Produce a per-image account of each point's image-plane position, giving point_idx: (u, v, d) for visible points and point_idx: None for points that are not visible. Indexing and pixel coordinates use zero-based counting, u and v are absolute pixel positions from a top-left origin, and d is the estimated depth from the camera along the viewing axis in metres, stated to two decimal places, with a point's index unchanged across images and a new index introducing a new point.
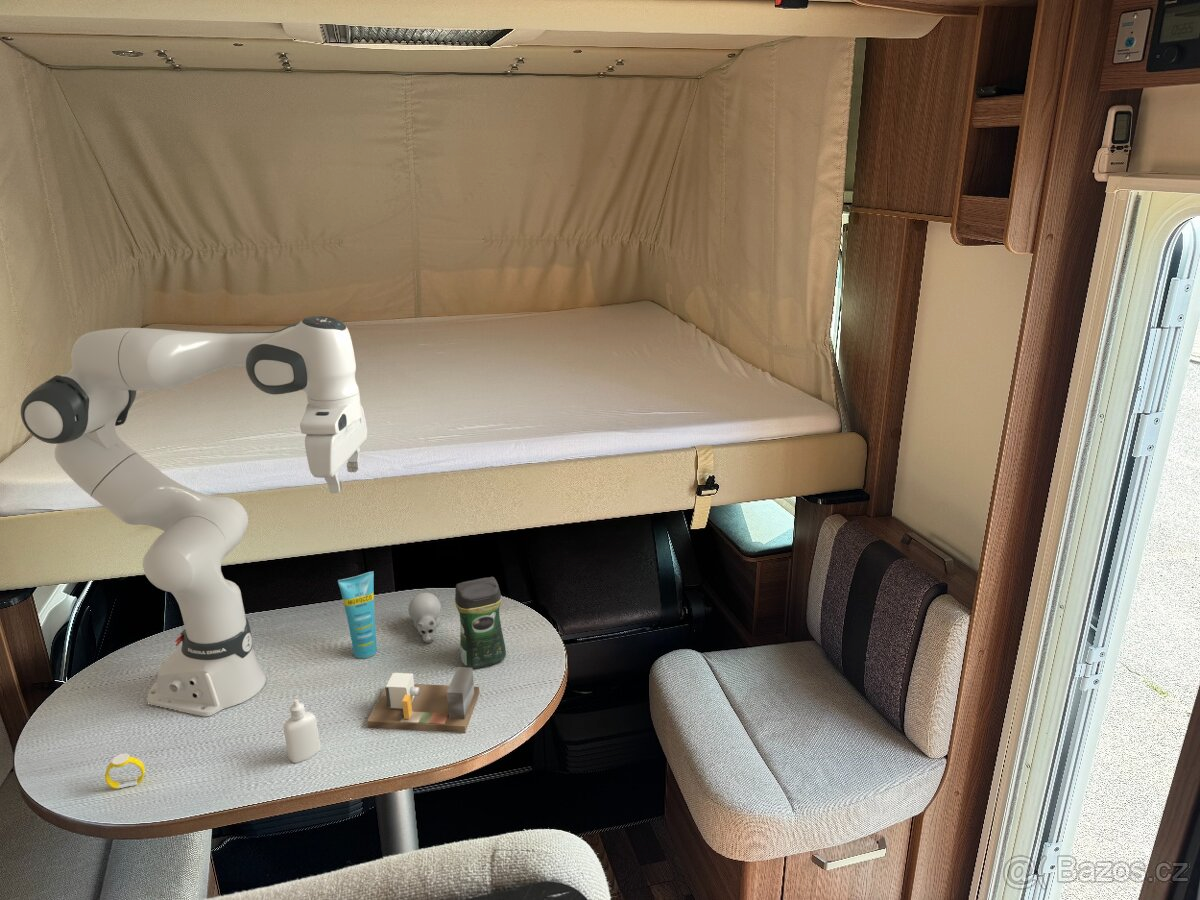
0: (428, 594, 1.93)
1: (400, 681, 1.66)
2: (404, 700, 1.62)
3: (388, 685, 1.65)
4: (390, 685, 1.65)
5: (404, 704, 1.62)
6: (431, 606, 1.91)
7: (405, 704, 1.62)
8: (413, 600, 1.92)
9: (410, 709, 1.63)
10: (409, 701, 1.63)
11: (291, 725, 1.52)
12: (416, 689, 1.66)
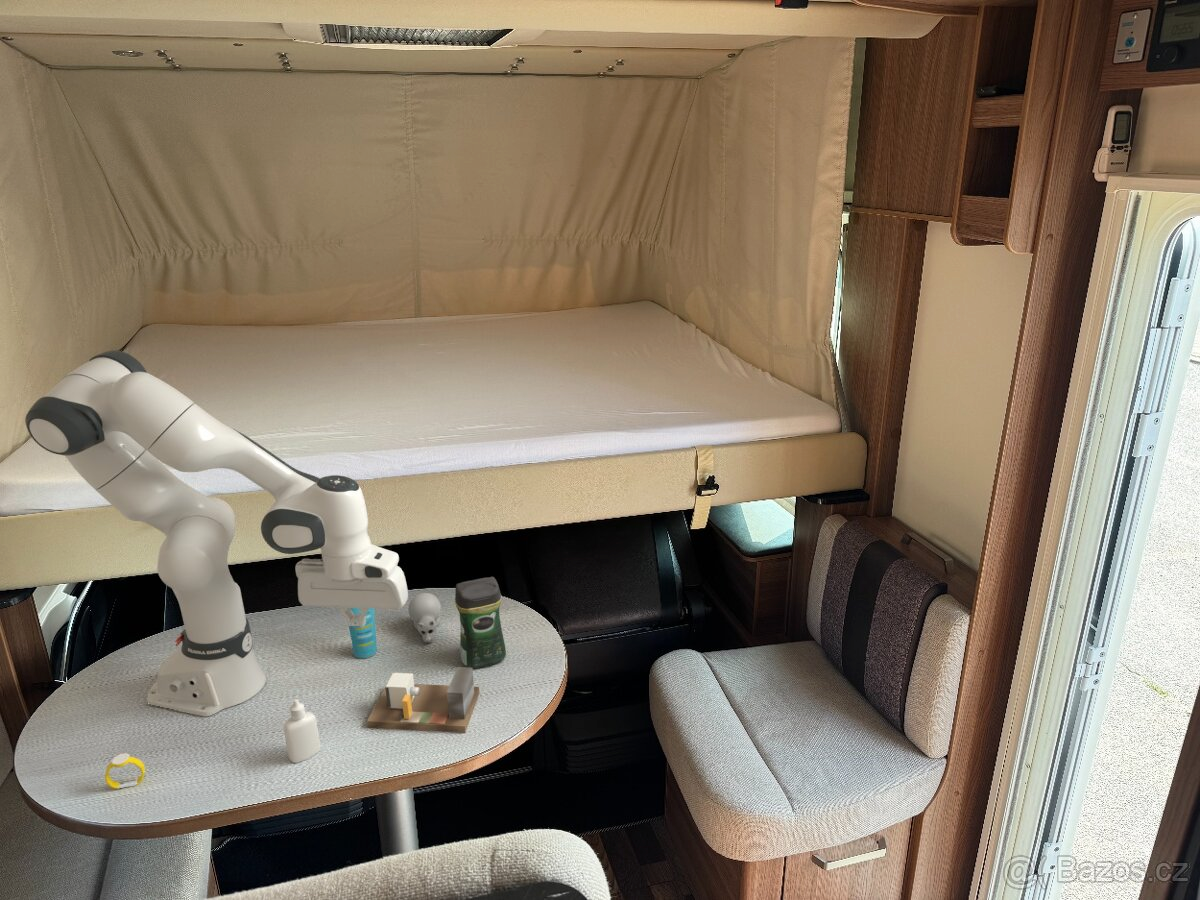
0: (428, 594, 1.93)
1: (400, 681, 1.66)
2: (404, 700, 1.62)
3: (388, 685, 1.65)
4: (390, 685, 1.65)
5: (404, 704, 1.62)
6: (431, 607, 1.91)
7: (405, 704, 1.62)
8: (413, 600, 1.92)
9: (410, 709, 1.63)
10: (409, 701, 1.63)
11: (291, 725, 1.52)
12: (416, 689, 1.66)
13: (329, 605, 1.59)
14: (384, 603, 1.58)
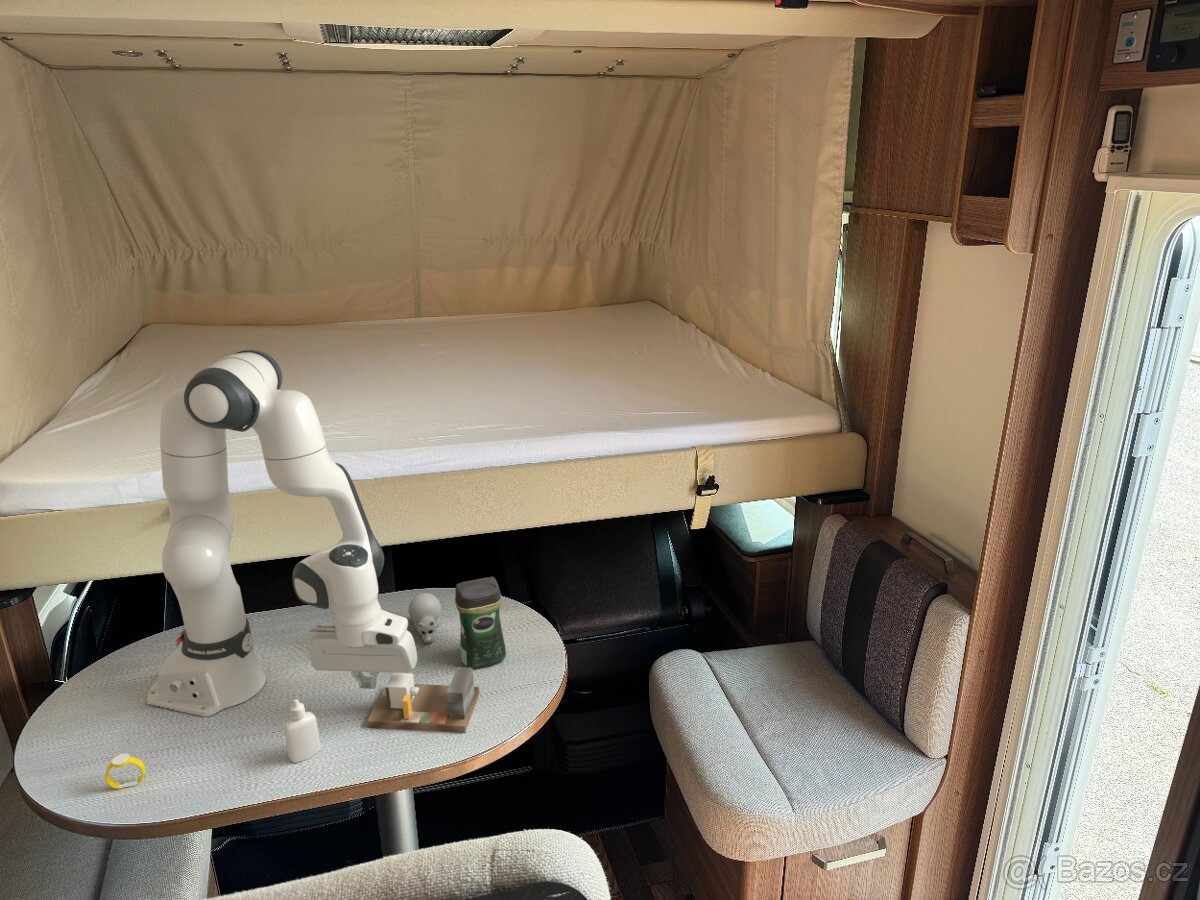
0: (428, 595, 1.93)
1: (400, 681, 1.66)
2: (404, 700, 1.62)
3: (388, 685, 1.65)
4: (390, 685, 1.65)
5: (404, 704, 1.62)
6: (431, 607, 1.91)
7: (405, 704, 1.62)
8: (413, 601, 1.91)
9: (410, 709, 1.63)
10: (409, 701, 1.63)
11: (291, 725, 1.52)
12: (416, 689, 1.66)
13: (341, 669, 1.65)
14: (395, 667, 1.64)
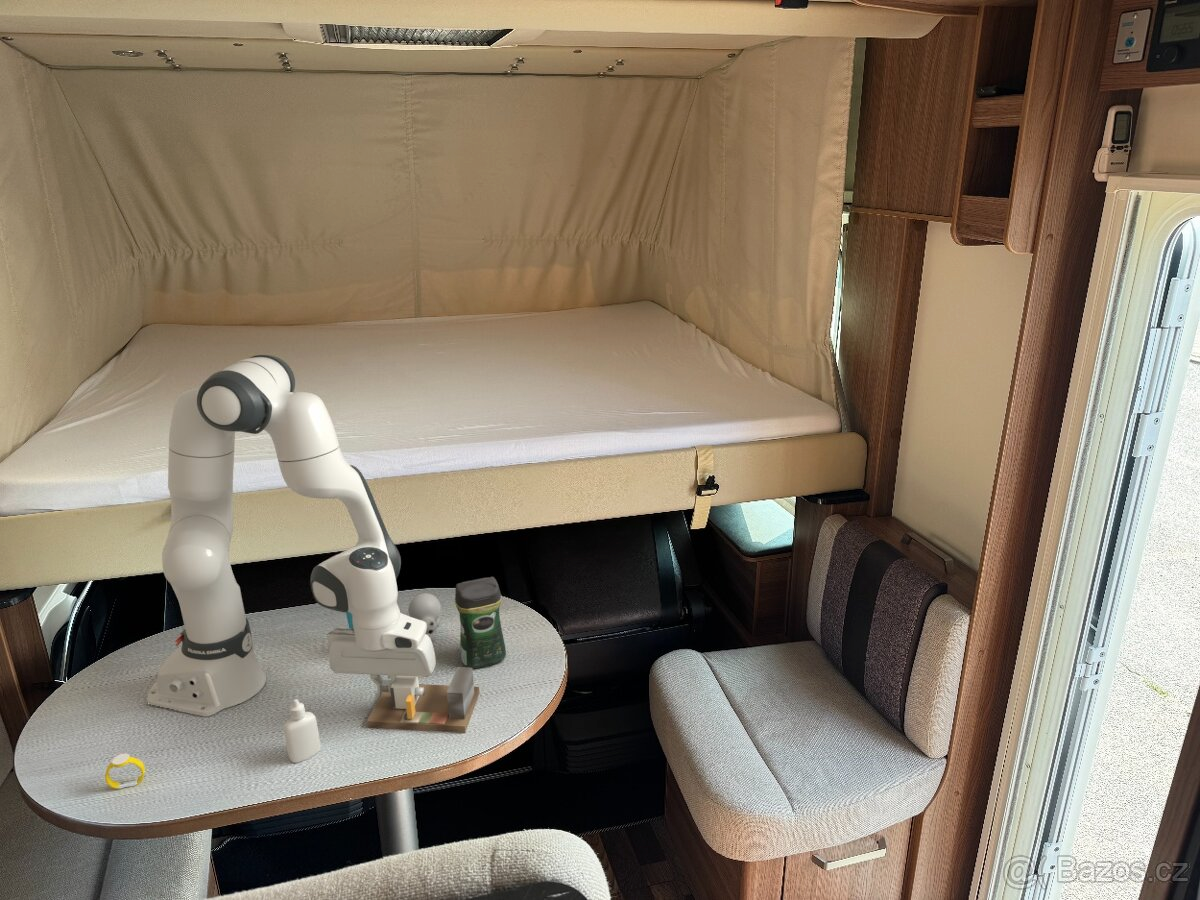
0: (428, 595, 1.92)
1: (405, 681, 1.66)
2: (407, 700, 1.61)
3: (393, 685, 1.65)
4: (395, 685, 1.65)
5: (407, 704, 1.61)
6: (431, 607, 1.90)
7: (408, 704, 1.61)
8: (413, 601, 1.91)
9: (413, 709, 1.63)
10: (412, 701, 1.63)
11: (291, 725, 1.52)
12: (421, 689, 1.66)
13: (359, 672, 1.64)
14: (413, 671, 1.63)
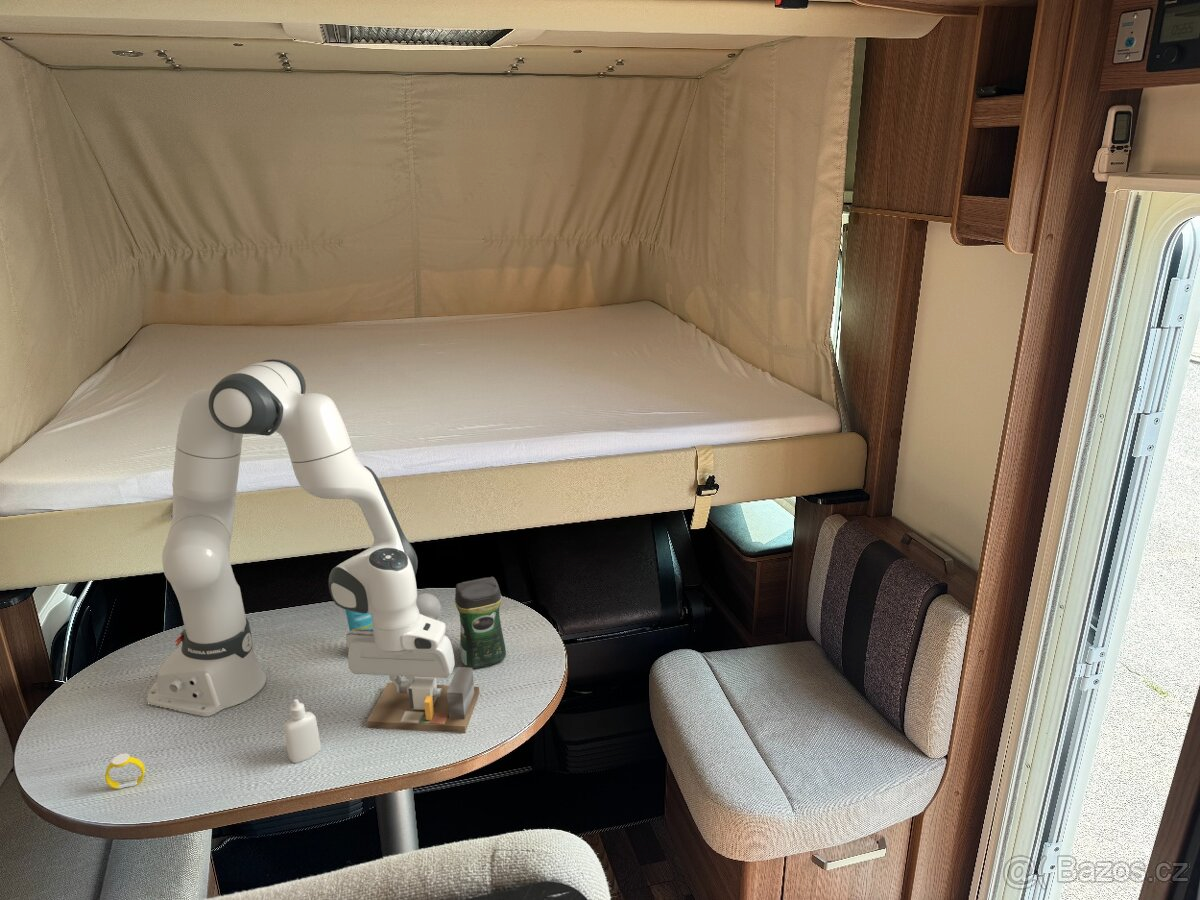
0: (428, 595, 1.92)
1: (423, 682, 1.65)
2: (426, 701, 1.61)
3: (411, 686, 1.64)
4: (413, 686, 1.64)
5: (426, 705, 1.61)
6: (431, 607, 1.90)
7: (427, 705, 1.61)
8: None
9: (432, 710, 1.63)
10: (431, 702, 1.62)
11: (291, 725, 1.52)
12: (439, 690, 1.66)
13: (378, 673, 1.64)
14: (432, 672, 1.62)
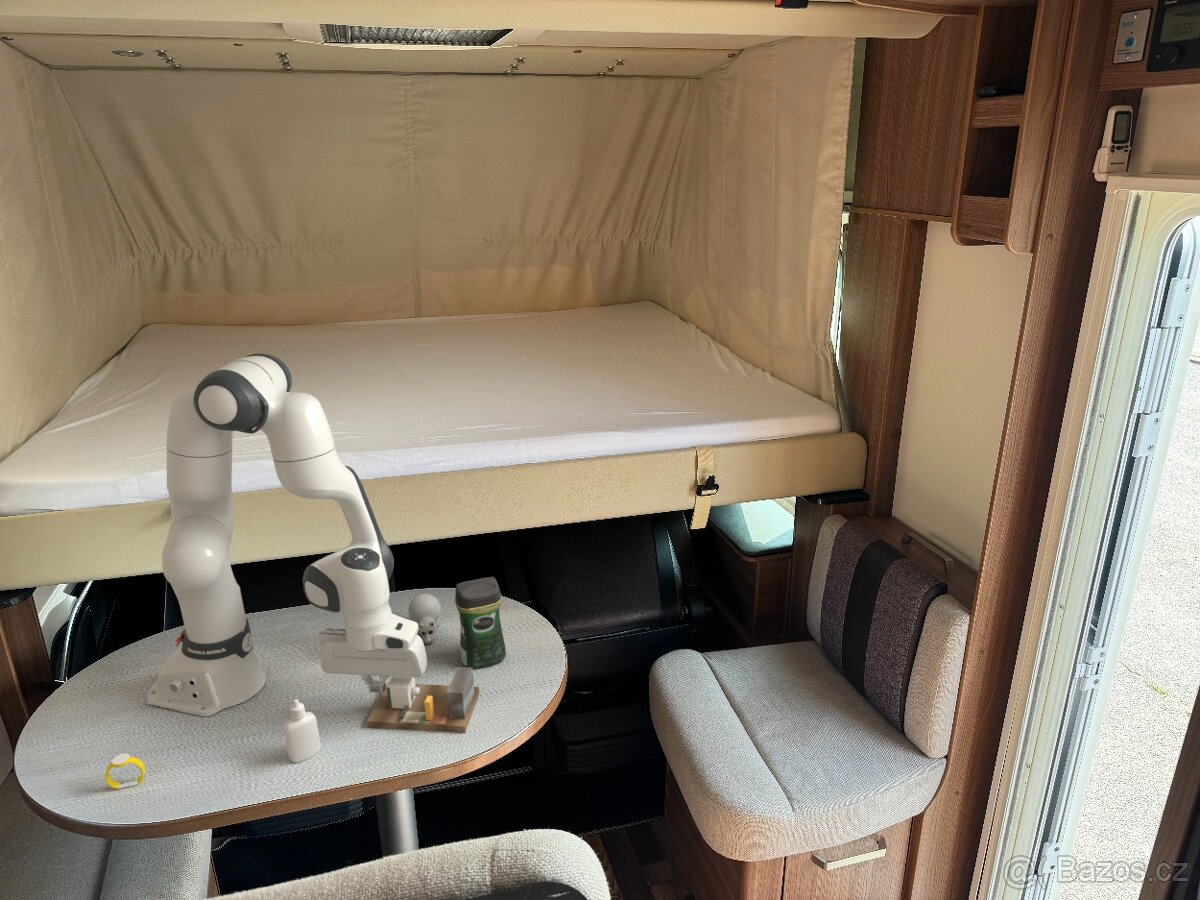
0: (428, 595, 1.92)
1: (401, 681, 1.66)
2: (426, 701, 1.61)
3: (389, 685, 1.65)
4: (391, 685, 1.65)
5: (426, 705, 1.61)
6: (431, 607, 1.90)
7: (427, 705, 1.61)
8: (413, 601, 1.91)
9: (432, 710, 1.63)
10: (431, 702, 1.62)
11: (291, 725, 1.52)
12: (417, 689, 1.66)
13: (351, 673, 1.64)
14: (404, 671, 1.63)
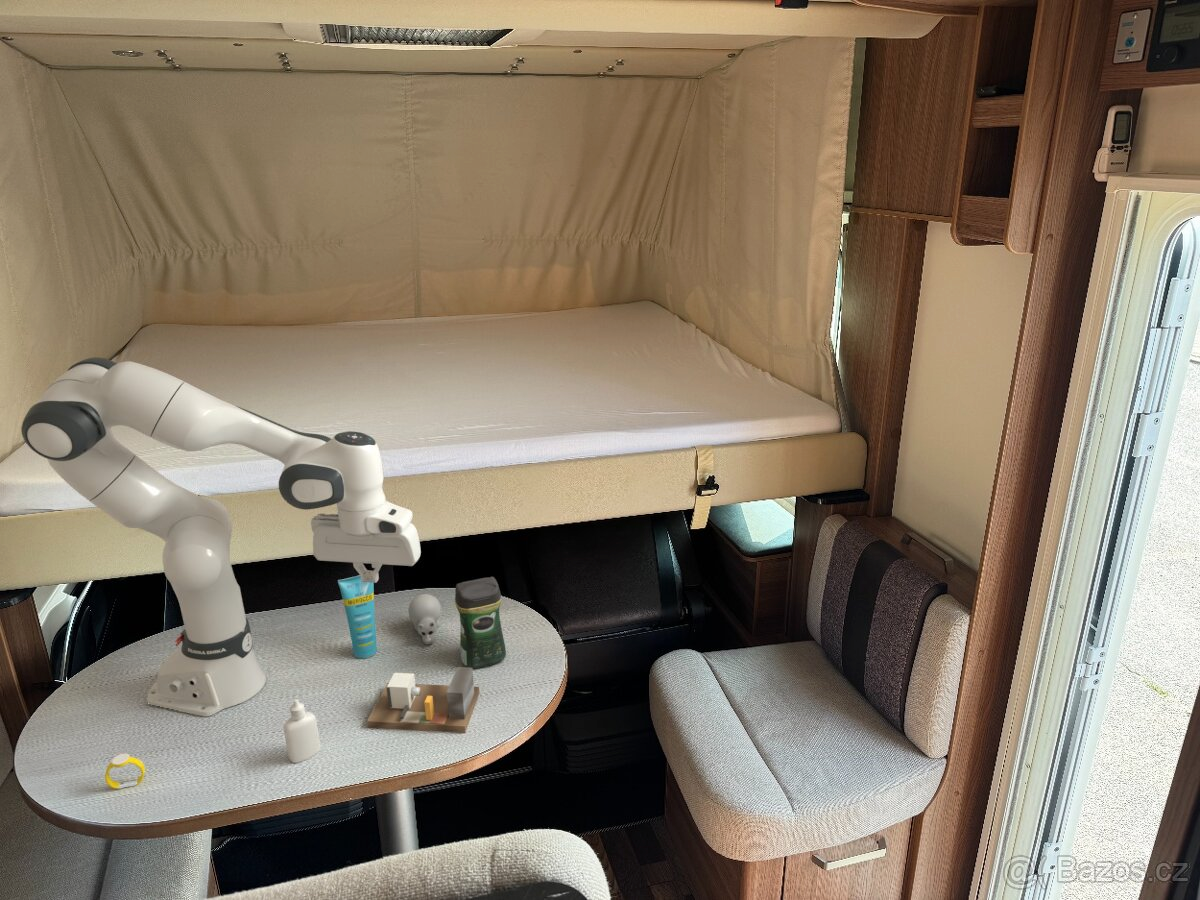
0: (428, 595, 1.92)
1: (401, 681, 1.66)
2: (426, 701, 1.61)
3: (389, 685, 1.65)
4: (391, 685, 1.65)
5: (426, 705, 1.61)
6: (431, 608, 1.90)
7: (427, 705, 1.61)
8: (413, 602, 1.91)
9: (432, 710, 1.63)
10: (431, 702, 1.62)
11: (291, 725, 1.52)
12: (417, 689, 1.66)
13: (343, 560, 1.62)
14: (397, 559, 1.60)
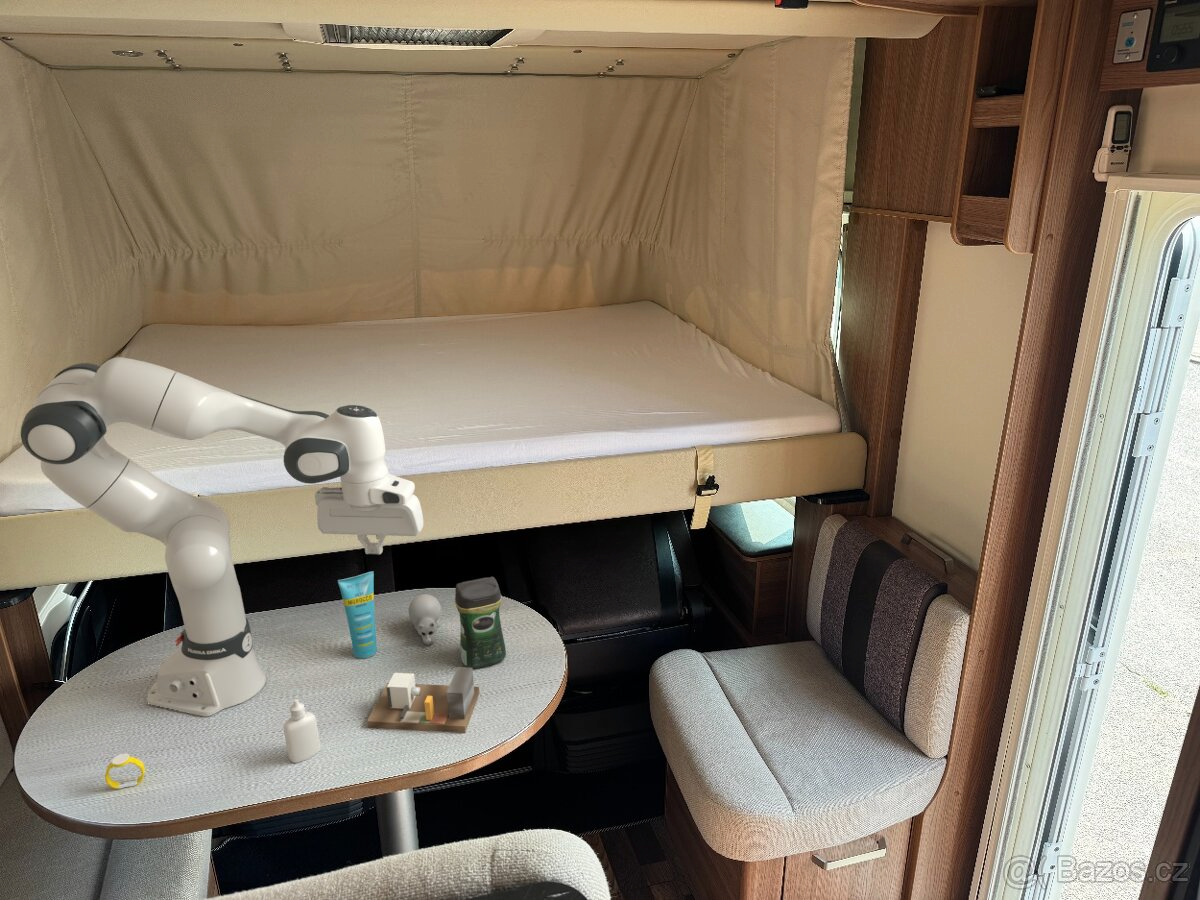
0: (428, 596, 1.92)
1: (401, 681, 1.66)
2: (426, 701, 1.61)
3: (389, 685, 1.65)
4: (391, 685, 1.65)
5: (426, 705, 1.61)
6: (431, 608, 1.90)
7: (427, 705, 1.61)
8: (413, 602, 1.91)
9: (432, 710, 1.63)
10: (431, 702, 1.62)
11: (291, 725, 1.52)
12: (417, 689, 1.66)
13: (347, 532, 1.65)
14: (401, 530, 1.63)
